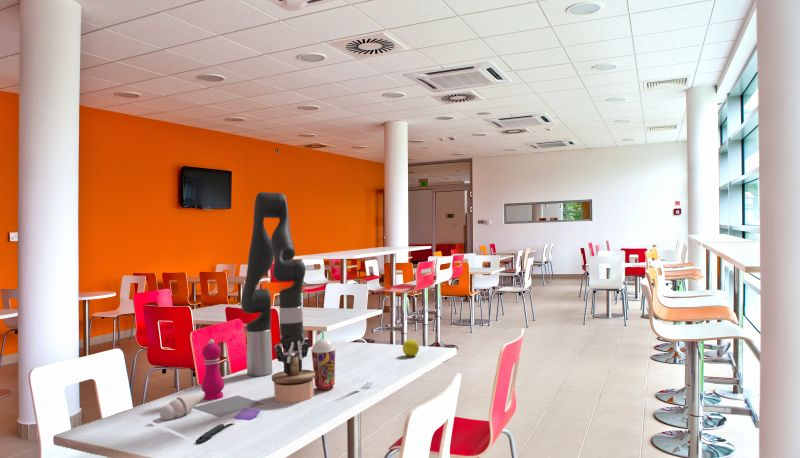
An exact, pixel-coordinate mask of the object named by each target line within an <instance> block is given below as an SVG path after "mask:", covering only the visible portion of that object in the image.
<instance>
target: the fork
mask: <svg viewBox="0 0 800 458" xmlns="http://www.w3.org/2000/svg"><path fill="white" fill-rule="evenodd" d="M373 384H374V382H371V381H367V382H366V383H365V384H364V385H362V386H361V387H360V388H359V390H352V391H350V392H348V393H346V394H344V395H342V396H340V397H338V398H335V399H334V400H333V401H332V403H335V402H340V401H341V400H344V399H345V398H346V397H348V396H349V395H351V394H352V393H355V392H357V393H361V392H362V391H361V390H363V391H368V389H370V387H371V386H372V385H373Z"/></svg>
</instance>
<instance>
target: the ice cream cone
mask: <svg viewBox="0 0 800 458" xmlns="http://www.w3.org/2000/svg"><path fill="white" fill-rule="evenodd" d="M205 396H206V395H205ZM205 396H203V395H194V396H192V395H191V396H190V395H189V396H178V397H176V399H173V400H172V401H170V402H169V403H168V404H167V405H164V406H162V408H161V409H160V412H159V416H160V418H161V419H162V420H163V421H171V420H173V419H177V418H182V417H183V416H187V415H189V413H190V412H191V411H192V410H193V409H195V408H194V407H196V406H197V405H198V404H199V403H200V402H201V401H202V400H204V397H205Z"/></svg>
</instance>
